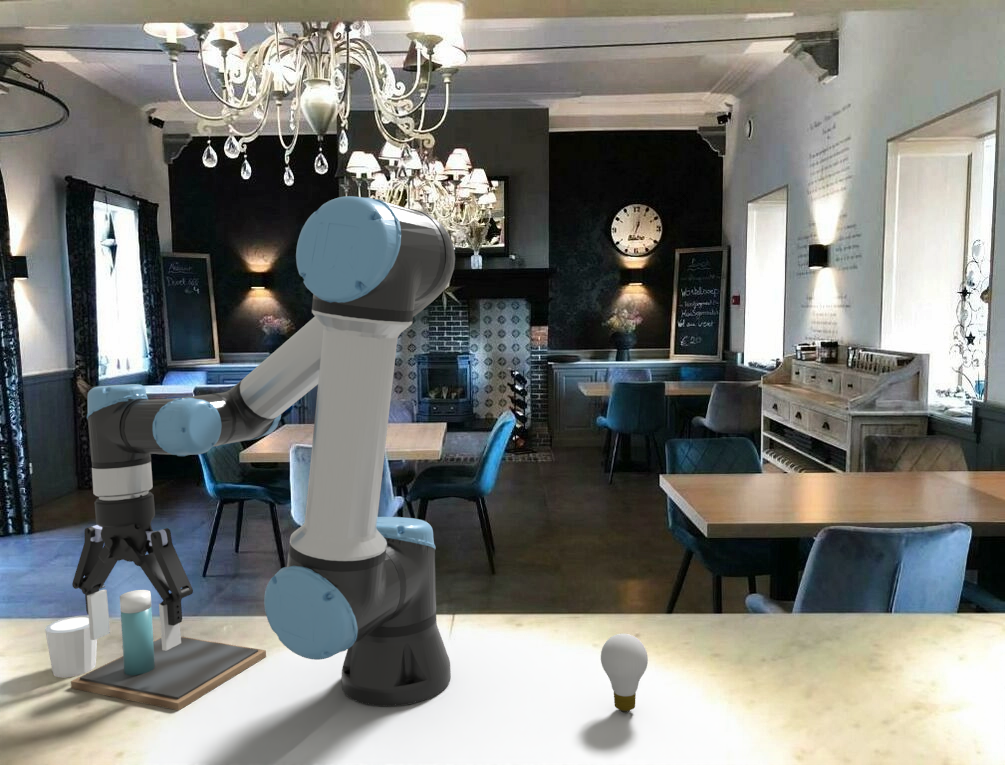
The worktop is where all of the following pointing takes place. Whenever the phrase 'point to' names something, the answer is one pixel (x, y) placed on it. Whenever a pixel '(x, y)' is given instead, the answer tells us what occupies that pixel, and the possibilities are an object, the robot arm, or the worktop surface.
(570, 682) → the worktop surface
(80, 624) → the white tapered cup
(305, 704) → the worktop surface
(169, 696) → the slate board
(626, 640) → the light bulb
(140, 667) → the teal bottle
